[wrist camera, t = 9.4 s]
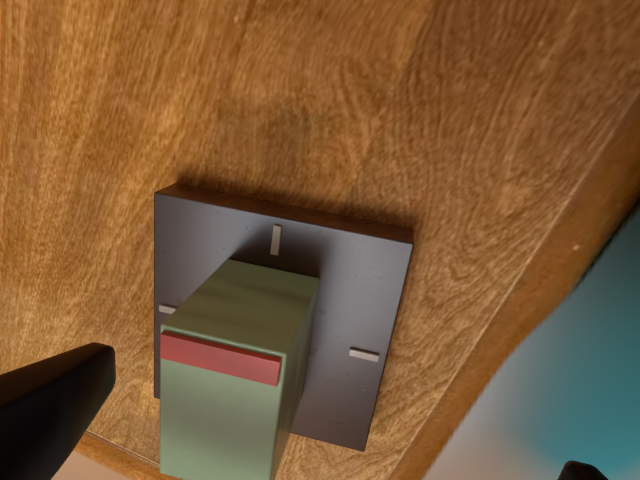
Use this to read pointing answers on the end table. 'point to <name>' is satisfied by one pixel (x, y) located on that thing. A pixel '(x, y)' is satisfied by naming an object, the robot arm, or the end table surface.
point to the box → (234, 372)
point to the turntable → (305, 259)
